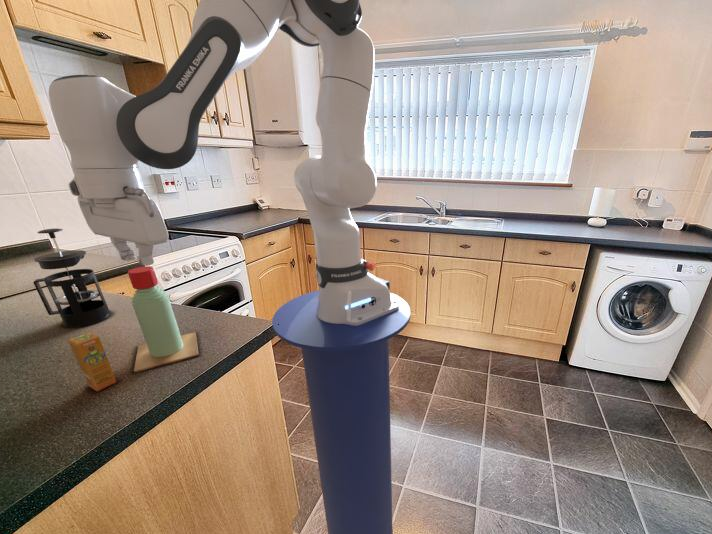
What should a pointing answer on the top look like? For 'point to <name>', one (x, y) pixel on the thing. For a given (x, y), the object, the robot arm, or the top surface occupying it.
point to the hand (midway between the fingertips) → (137, 262)
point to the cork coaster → (148, 361)
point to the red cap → (142, 277)
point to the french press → (80, 301)
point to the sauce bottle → (157, 321)
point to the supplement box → (92, 361)
